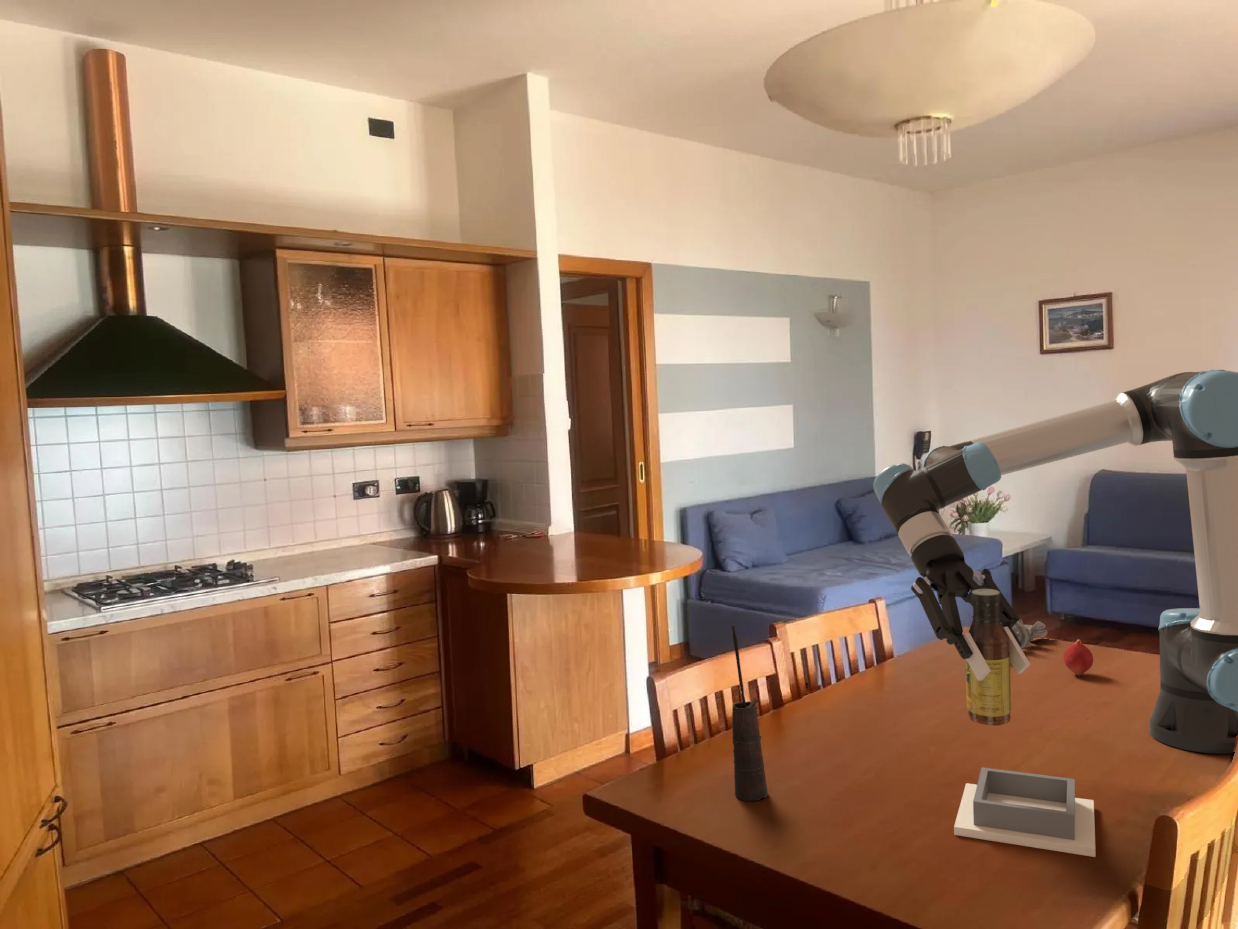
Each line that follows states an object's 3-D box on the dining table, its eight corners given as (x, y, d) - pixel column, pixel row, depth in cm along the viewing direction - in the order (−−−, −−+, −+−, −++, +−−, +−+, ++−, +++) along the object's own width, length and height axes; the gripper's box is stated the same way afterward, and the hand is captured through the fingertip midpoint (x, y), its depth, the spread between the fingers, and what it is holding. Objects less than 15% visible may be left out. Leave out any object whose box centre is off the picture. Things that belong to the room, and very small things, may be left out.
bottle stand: (1093, 808, 138) (1093, 777, 138) (1095, 857, 124) (1095, 823, 124) (966, 790, 146) (965, 761, 146) (954, 835, 132) (953, 803, 132)
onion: (1057, 673, 203) (1057, 638, 202) (1078, 670, 204) (1078, 634, 204) (1078, 681, 197) (1077, 644, 197) (1099, 677, 199) (1099, 640, 198)
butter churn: (765, 776, 156) (758, 612, 154) (795, 798, 147) (789, 624, 145) (716, 786, 152) (709, 620, 150) (744, 809, 143) (737, 632, 142)
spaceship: (952, 630, 213) (983, 621, 208) (1024, 617, 236) (1053, 609, 230) (964, 664, 211) (995, 656, 205) (1035, 648, 234) (1065, 641, 228)
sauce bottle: (975, 710, 143) (973, 584, 142) (1017, 718, 139) (1015, 588, 138) (960, 722, 138) (957, 592, 137) (1002, 731, 134) (1000, 597, 133)
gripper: (970, 554, 155) (1044, 676, 140) (871, 566, 149) (937, 694, 135) (991, 526, 149) (1070, 650, 135) (889, 538, 144) (960, 668, 129)
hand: (1004, 672), depth 135 cm, fingers closed on sauce bottle, 6 cm apart
